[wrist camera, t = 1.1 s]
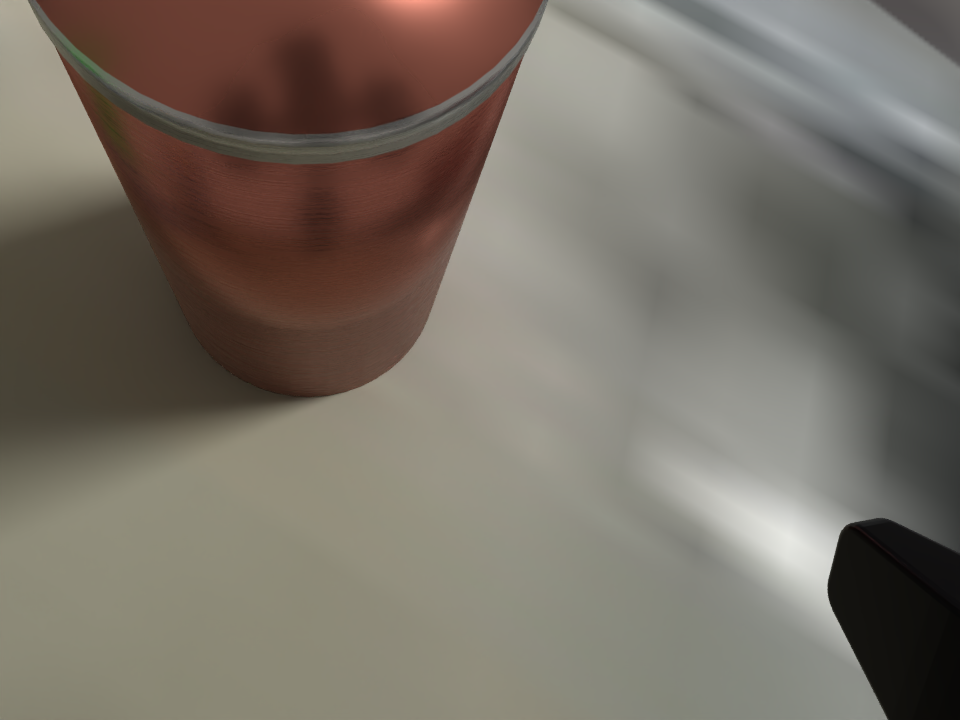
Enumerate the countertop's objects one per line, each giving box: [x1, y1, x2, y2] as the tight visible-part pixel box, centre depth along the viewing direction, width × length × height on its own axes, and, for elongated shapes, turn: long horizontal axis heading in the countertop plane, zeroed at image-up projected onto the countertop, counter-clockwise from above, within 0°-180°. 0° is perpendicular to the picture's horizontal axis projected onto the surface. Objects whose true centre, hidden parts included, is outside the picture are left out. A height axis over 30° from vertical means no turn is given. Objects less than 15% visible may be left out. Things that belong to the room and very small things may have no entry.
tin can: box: [28, 0, 548, 397], centre depth 17 cm, size 6×6×13 cm
